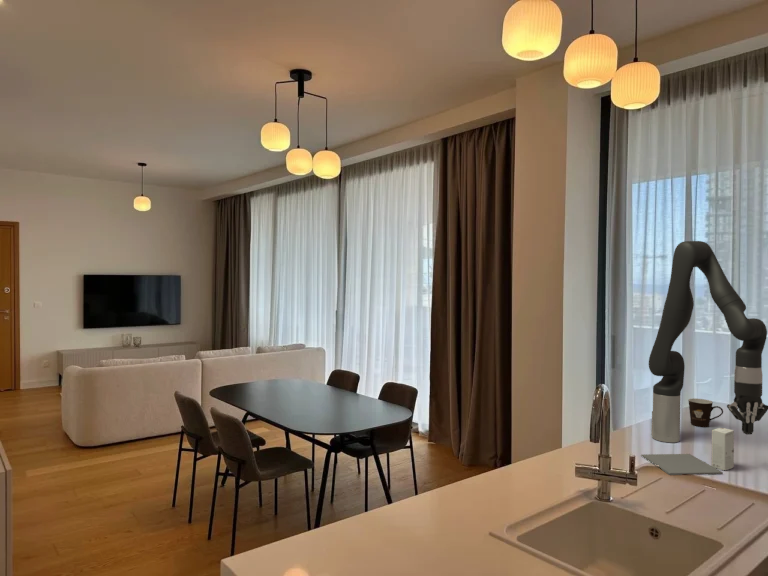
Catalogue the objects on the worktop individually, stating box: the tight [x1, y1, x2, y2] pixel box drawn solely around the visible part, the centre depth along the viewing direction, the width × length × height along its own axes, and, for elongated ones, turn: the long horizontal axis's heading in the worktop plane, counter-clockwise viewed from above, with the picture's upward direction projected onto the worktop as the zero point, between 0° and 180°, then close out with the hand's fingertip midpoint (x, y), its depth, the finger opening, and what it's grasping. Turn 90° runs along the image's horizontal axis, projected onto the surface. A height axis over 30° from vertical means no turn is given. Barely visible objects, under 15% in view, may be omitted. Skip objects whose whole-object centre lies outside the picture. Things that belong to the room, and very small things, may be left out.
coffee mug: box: [688, 397, 724, 428], centre depth 221 cm, size 12×9×10 cm
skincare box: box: [711, 427, 735, 471], centre depth 175 cm, size 6×4×12 cm
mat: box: [640, 453, 723, 476], centre depth 178 cm, size 17×17×1 cm
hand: (747, 433), depth 175 cm, fingers closed
